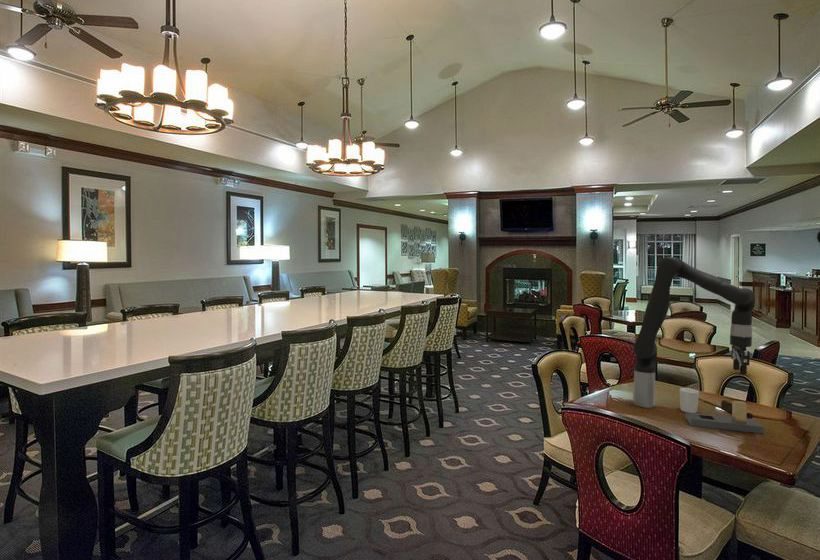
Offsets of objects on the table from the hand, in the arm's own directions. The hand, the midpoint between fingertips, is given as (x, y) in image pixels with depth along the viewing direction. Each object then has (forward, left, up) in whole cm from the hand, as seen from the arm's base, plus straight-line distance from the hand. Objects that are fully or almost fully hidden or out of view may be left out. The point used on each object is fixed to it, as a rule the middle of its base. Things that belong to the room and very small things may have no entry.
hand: (739, 372), depth 192 cm
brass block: (0, 0, -21) cm, 21 cm away
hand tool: (+4, +19, -25) cm, 32 cm away
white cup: (-15, +18, -24) cm, 33 cm away
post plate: (-6, 0, -24) cm, 25 cm away
